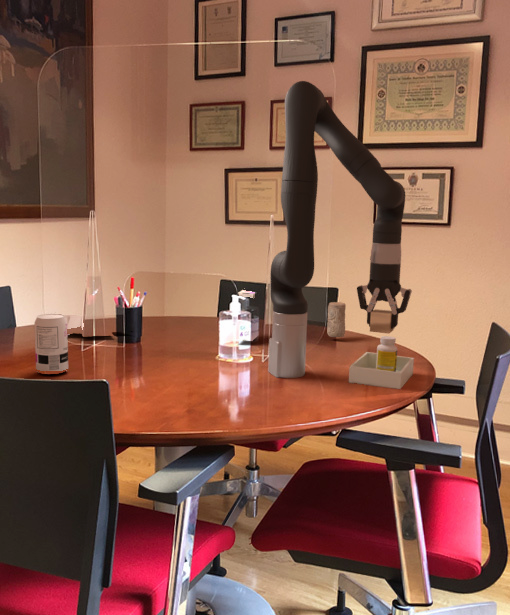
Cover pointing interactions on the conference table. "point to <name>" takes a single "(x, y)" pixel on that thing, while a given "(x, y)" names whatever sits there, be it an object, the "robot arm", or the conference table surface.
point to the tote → (380, 372)
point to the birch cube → (381, 321)
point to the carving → (336, 319)
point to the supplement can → (51, 342)
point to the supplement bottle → (387, 354)
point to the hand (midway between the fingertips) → (381, 326)
